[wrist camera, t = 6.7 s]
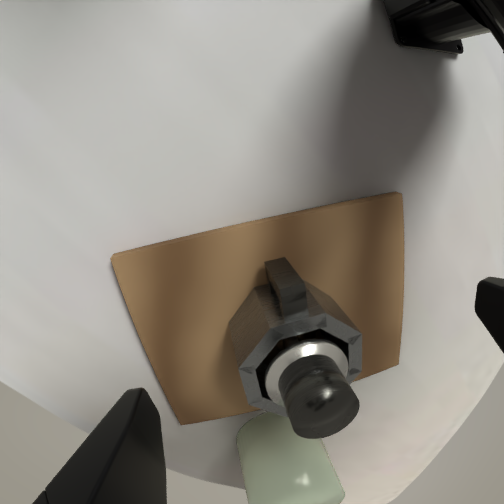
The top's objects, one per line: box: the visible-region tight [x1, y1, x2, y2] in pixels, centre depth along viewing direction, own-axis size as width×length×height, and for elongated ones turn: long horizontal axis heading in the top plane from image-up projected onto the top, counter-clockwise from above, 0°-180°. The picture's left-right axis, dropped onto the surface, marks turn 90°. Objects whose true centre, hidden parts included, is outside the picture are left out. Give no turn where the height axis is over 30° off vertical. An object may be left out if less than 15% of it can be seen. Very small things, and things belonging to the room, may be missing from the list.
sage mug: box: [236, 412, 345, 504], centre depth 22 cm, size 7×9×8 cm
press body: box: [229, 257, 362, 417], centre depth 18 cm, size 7×8×5 cm
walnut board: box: [110, 192, 404, 425], centre depth 21 cm, size 18×14×1 cm
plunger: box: [264, 336, 359, 439], centre depth 16 cm, size 4×4×7 cm
